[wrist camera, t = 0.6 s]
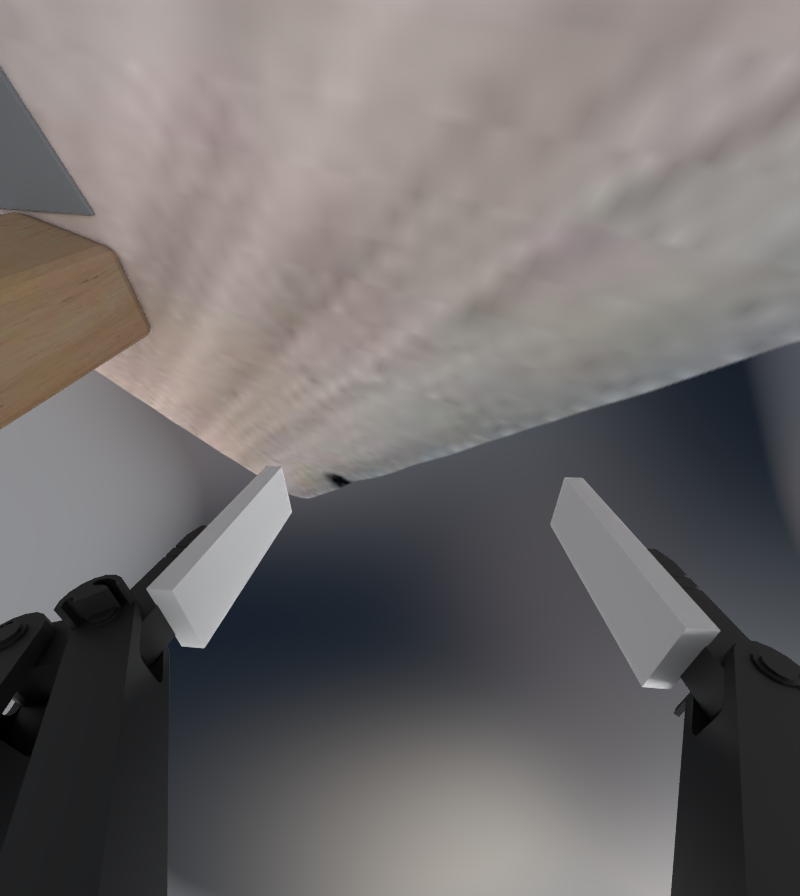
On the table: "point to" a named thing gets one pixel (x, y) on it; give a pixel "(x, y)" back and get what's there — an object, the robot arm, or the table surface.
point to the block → (57, 311)
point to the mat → (32, 163)
